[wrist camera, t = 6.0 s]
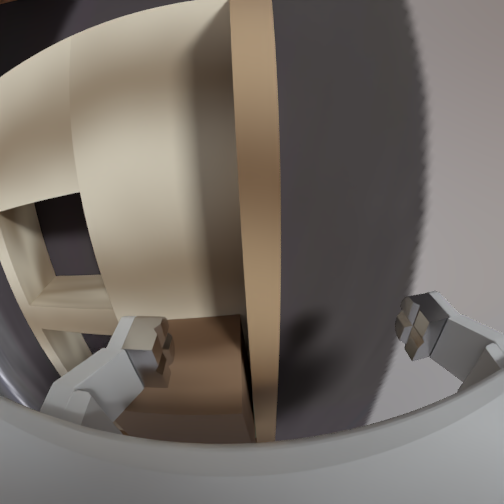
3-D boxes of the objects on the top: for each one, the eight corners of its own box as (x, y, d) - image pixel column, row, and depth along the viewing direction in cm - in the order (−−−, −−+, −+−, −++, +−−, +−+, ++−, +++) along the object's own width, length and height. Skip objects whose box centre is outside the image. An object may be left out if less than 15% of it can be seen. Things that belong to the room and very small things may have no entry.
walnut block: (135, 321, 10) (103, 407, 6) (240, 314, 10) (242, 413, 6) (166, 383, 12) (153, 458, 8) (251, 380, 12) (256, 460, 8)
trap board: (11, 94, 8) (-62, 103, 3) (254, 25, 8) (267, -43, 3) (114, 404, 18) (99, 456, 13) (266, 410, 19) (272, 470, 14)
